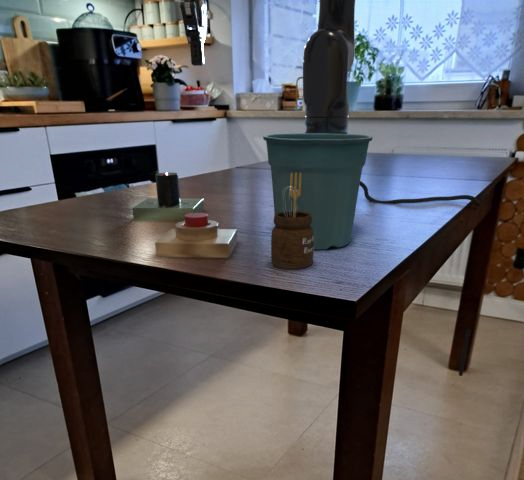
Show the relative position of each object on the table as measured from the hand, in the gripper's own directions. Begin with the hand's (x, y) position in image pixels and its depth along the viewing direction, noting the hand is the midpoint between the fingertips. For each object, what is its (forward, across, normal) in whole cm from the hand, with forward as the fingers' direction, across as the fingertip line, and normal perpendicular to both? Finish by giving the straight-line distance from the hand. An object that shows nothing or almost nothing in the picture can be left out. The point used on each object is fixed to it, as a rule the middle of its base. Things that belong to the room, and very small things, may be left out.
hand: (197, 65), depth 98 cm
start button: (+23, +32, +4) cm, 40 cm away
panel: (+27, +7, -6) cm, 28 cm away
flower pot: (+27, +26, +22) cm, 44 cm away
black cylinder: (+24, +7, -6) cm, 26 cm away
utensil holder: (+27, +39, +19) cm, 51 cm away
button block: (+27, +32, +4) cm, 42 cm away
